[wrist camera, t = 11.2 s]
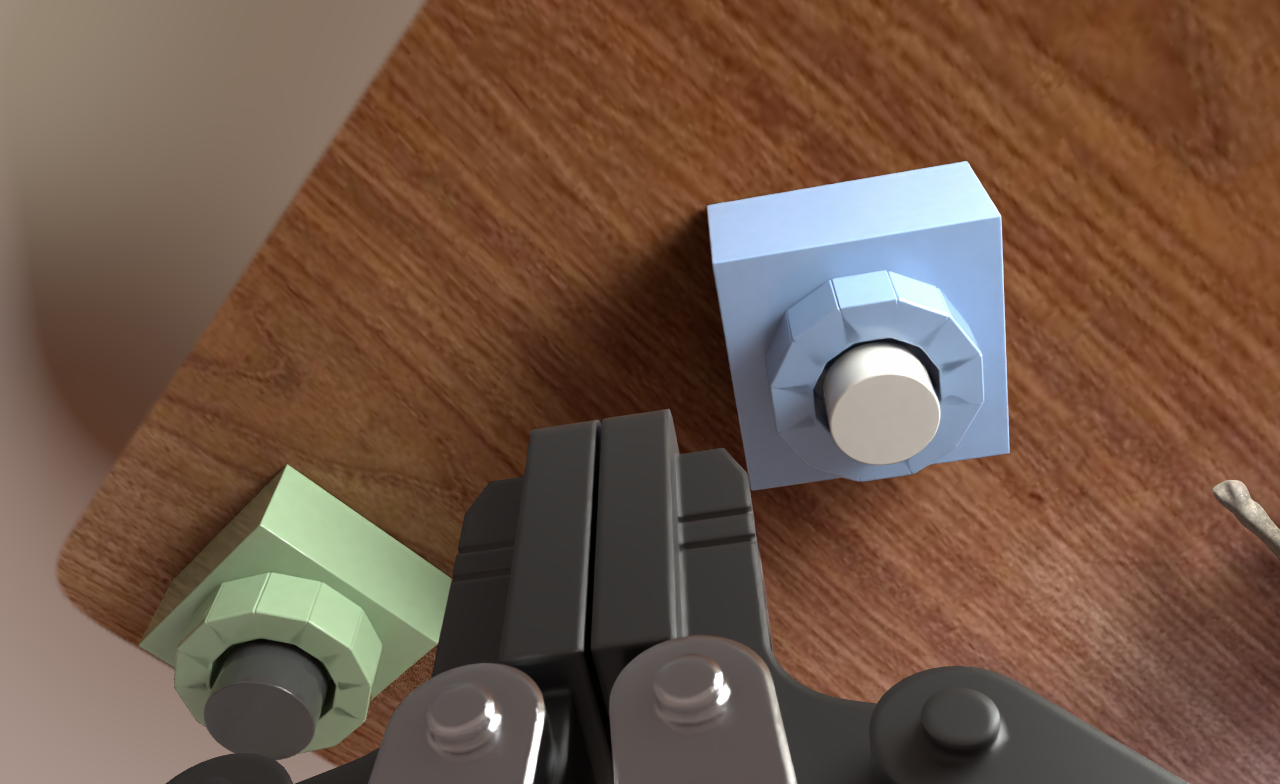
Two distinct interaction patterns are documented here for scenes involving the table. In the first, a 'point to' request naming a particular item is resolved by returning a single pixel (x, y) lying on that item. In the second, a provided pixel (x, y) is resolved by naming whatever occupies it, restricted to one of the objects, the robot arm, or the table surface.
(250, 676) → the dark grey button cap
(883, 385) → the white push button
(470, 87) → the table surface
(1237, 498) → the dog figurine
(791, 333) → the blue push button base
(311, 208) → the table surface
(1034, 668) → the table surface
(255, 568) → the light green square block
